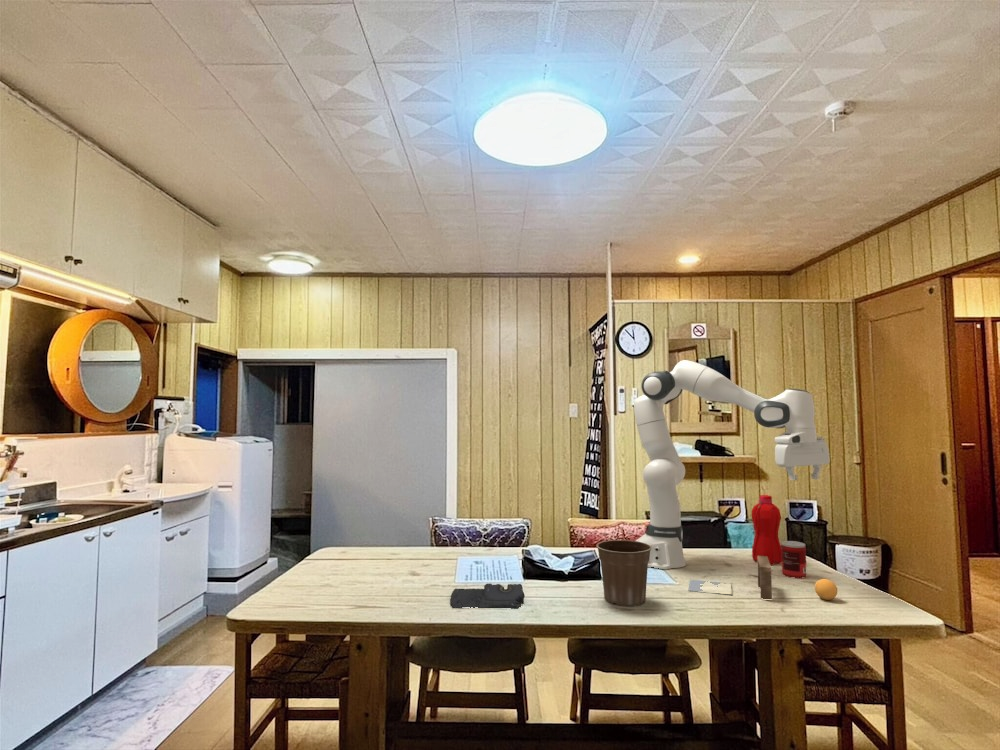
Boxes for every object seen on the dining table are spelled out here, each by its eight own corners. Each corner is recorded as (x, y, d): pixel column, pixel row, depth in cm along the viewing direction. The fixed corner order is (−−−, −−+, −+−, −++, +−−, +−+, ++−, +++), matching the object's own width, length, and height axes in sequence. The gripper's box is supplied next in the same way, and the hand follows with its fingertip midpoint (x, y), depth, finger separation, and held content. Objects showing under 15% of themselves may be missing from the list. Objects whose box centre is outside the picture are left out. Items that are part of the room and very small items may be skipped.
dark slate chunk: (452, 594, 182) (452, 578, 182) (522, 594, 182) (522, 579, 182) (448, 611, 166) (448, 594, 167) (525, 611, 167) (525, 594, 167)
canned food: (800, 572, 207) (800, 541, 207) (810, 579, 199) (809, 546, 199) (778, 572, 207) (777, 540, 208) (787, 578, 199) (786, 545, 200)
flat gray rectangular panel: (688, 590, 184) (688, 590, 184) (690, 580, 197) (690, 579, 197) (732, 595, 180) (732, 595, 180) (731, 584, 192) (731, 583, 192)
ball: (816, 601, 175) (816, 580, 175) (813, 595, 181) (813, 575, 181) (839, 603, 173) (838, 582, 173) (835, 597, 178) (835, 577, 179)
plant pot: (611, 611, 165) (611, 553, 166) (588, 594, 181) (587, 541, 182) (662, 606, 170) (662, 550, 171) (635, 590, 185) (634, 538, 186)
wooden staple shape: (761, 599, 176) (760, 566, 177) (758, 586, 190) (757, 555, 191) (772, 600, 175) (771, 567, 176) (768, 587, 189) (767, 556, 190)
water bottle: (745, 561, 223) (743, 494, 224) (765, 558, 227) (764, 493, 229) (765, 566, 214) (763, 497, 216) (786, 563, 219) (784, 496, 221)
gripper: (816, 436, 200) (819, 477, 198) (770, 438, 193) (773, 480, 191) (833, 436, 194) (836, 478, 193) (785, 438, 187) (788, 482, 185)
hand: (804, 479), depth 192 cm, fingers open, 8 cm apart
